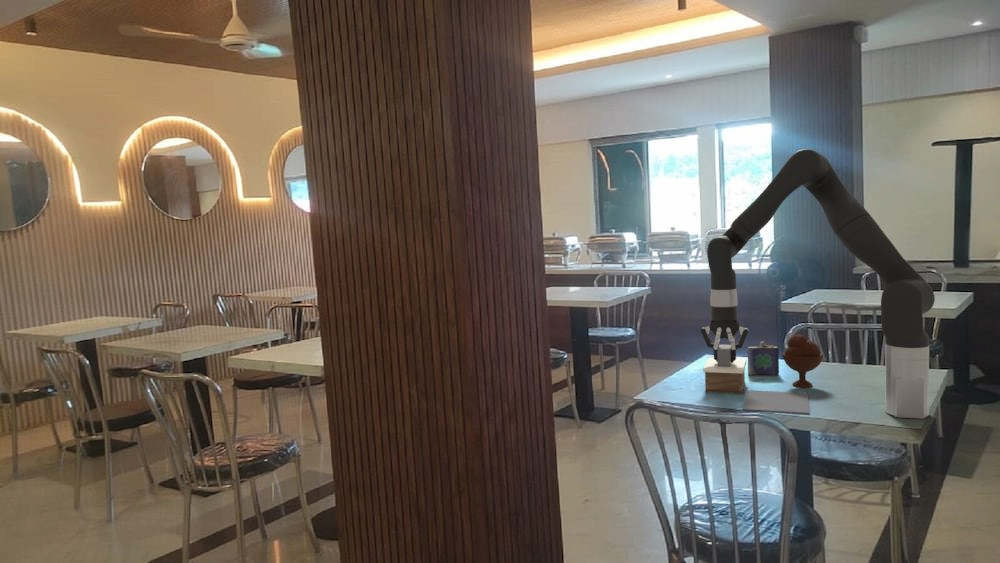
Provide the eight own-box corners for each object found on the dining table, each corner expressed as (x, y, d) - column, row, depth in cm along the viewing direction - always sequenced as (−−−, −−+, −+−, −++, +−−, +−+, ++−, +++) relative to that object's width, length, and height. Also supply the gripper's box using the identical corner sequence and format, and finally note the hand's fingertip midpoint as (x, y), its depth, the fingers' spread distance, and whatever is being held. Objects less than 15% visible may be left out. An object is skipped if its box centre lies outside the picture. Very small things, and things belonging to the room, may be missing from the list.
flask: (748, 375, 213) (747, 342, 212) (747, 373, 216) (746, 340, 215) (779, 376, 211) (779, 342, 210) (778, 374, 213) (777, 340, 212)
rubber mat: (809, 414, 170) (809, 412, 170) (742, 410, 176) (742, 408, 176) (807, 394, 188) (807, 392, 188) (746, 391, 194) (746, 390, 194)
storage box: (742, 393, 192) (741, 373, 191) (705, 392, 196) (705, 371, 195) (744, 382, 205) (744, 362, 204) (710, 380, 209) (709, 361, 208)
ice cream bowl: (784, 389, 194) (784, 338, 193) (781, 380, 205) (780, 331, 203) (825, 390, 191) (824, 338, 190) (819, 381, 201) (818, 331, 200)
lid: (743, 377, 191) (743, 352, 190) (703, 376, 195) (702, 351, 195) (746, 366, 205) (745, 342, 204) (708, 365, 209) (707, 342, 208)
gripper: (697, 305, 198) (698, 363, 199) (748, 305, 192) (749, 365, 194) (700, 302, 204) (701, 358, 206) (750, 302, 199) (751, 360, 200)
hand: (725, 361), depth 200 cm, fingers closed on lid, 3 cm apart
